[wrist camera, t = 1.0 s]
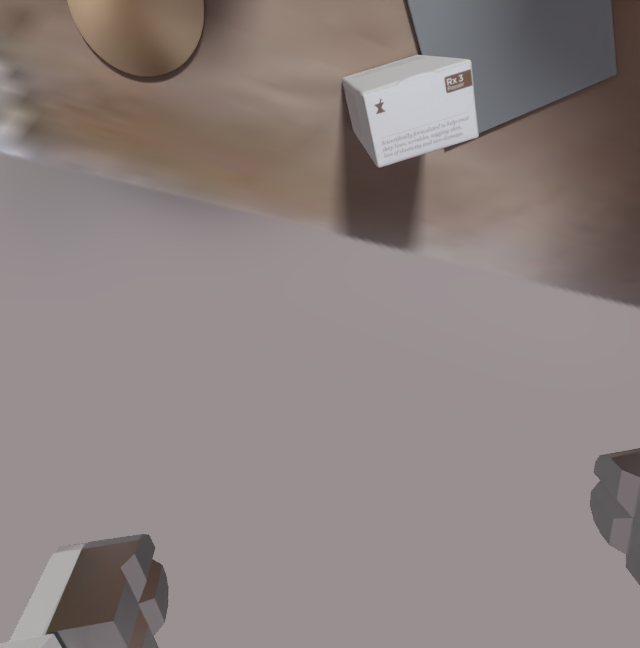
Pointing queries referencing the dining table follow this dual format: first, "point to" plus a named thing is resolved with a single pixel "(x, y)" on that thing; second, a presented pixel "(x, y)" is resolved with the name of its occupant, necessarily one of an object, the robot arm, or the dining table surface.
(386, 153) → the skincare box
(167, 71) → the cork coaster
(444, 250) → the dining table surface
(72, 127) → the dining table surface
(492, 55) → the felt mat
